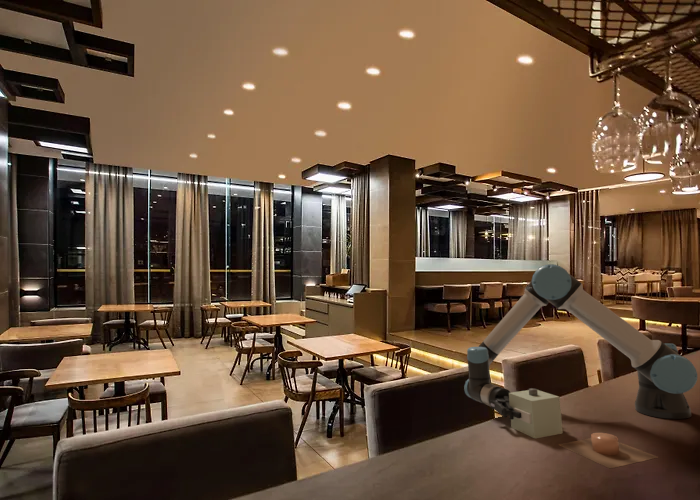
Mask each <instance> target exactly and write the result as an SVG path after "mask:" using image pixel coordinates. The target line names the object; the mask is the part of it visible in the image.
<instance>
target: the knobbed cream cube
mask: <svg viewBox="0 0 700 500" xmlns="http://www.w3.org/2000/svg"><path fill="white" fill-rule="evenodd" d="M509 403H510V406H512V408H513V410H514V408H518V409H520V410H523V411H525V412H528V413H530V414H531V420H532V423H531V424H529V423H527V422H524V421H522V420H520V419H518V418H515V417H514V419H510V425H511V426H510V429H514V430H516V431H518V432H521V433H522V434H524V435H527V436H528V437H530V438H533V439H540V438H544V437H545V438H546V437H550V436H555V435H560V434H561V435H562V434H563V433H564V432H563V422H562V409H561V400H560V396H558V395H555V394H552V393H549V392H545V391H542V390H539V389H537V388H532V387H531V388H528V389H527V390H521V391H512V392H511V393H509Z"/></svg>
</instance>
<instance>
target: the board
mask: <svg viewBox="0 0 700 500" xmlns="http://www.w3.org/2000/svg"><path fill="white" fill-rule="evenodd" d="M618 443H619V454H618V455H604V454H600V453H597V452H595V451H594V450H593V449H592V438H591V437H588V438H584V439H579V440H574V441H569V442H564V443H558V444H557V446H560V447H561V448H563V449H566V450H568V451H570V452H572V453H574V454H577V455H579V456H581V457H583V458H586V459H587V460H590V461H592V462H595V463H597V464H599V465H600V466H602V467H605V468H607V469H609V470H610V469H615V468H619V467H624V466H628V465H632V464H636V463H642V462H644V461H645V462H646V461H649V460H654V459H655V460H656V459H659V458H660V457H659V456H656V455H654V454H652V453H649V452H646V451H644V450H642V449H640V448H639V449H638V448H636V447H634V446H630V445H628V444H626V443H623V442H619V441H618Z"/></svg>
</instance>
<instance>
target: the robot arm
mask: <svg viewBox="0 0 700 500" xmlns="http://www.w3.org/2000/svg"><path fill="white" fill-rule="evenodd" d="M549 303H550V304H551V305H553V306H554V307H555V308H556V309H557V310H566V311H567V312H569V313H570V314H571V315H573V316H574V317H575V318H577V319H578V320H579V321H581V322H582V323H583V324H584V325H586V326H587V327H589V329H591V330H592V331H594V332H595V333H596V334H598V336H600V337H601V338H603V339H604V340H605V341H607V342H608V343H609V344H610V345H612V346H613V347H614V348H616V349H617V350H618V351H619V352H621V353H622V354H623V355H625V357H627V358H629V359H630V363H631V367H632V368H634V369H635V370H636V371H637V379H638V380H637V381H638V389H637V393H636V398H635V401H634V408H635V411H636V412H638V413H641V414H642V415H647V416H650V417H655V418H660V419H671V420H672V419H673V420H680V419H682V420H683V419H687V418H691V417H692V409H691V406H690V405H689V403H688V401H687V398H686V397H685V393H687V392H689V391H690V390H692V389H693V388H694V386H695V385H696V383H697V381H698V371H697V368H696V367H695V366H694V364H693V363H692V361H690V359H688V358H687V357H685V356H682V355H680V354H679V350H678V348H677V347H678V346H677V345H676V344H674V343H664V342H663V341H661V340H659V339H650V338H649V337H648V336H646V335H645V334H643V333H642V332H641V331H640V330H639V329H637V328H636V327H634V326H633V325H631V324H630V323H628V321H626V320H624V318H621V316H619V315H618V314H616V313H615V312H614V311H612V309H610V308H608V306H606V305H604V304H603V303H601V302H600V301H599V300H598V299H596V298H595V297H593V296H592V295H591V294H589V293H588V292H587V291H585V290H584V286H583V283H582V282H581V281H579V280H578V279H577V278H576V277H574V276H573V275H571V274H570V273H569V272H568V271H567V270H566V269H565V267H563V266H561V265H558V264H552V263H551V264H549V263H548V264H544V265H542V266H539V267H538V268H537V269H536V270H535V272H534V273H533V275H532V278H531V280H530V282H529V283H528V285H527V286H526V287H525V288H524V294H523V295H521V296H520V298H519V300H517V302H516V303H515V304H514V305H513V306H512V308H510V310H509V311H507V313H506V314H505V315H504V317H502V319H501V320H500V321H499V322H498V323H497V324H496V325H495V327H494V328H493V329H492V331H490V333H488V335H487V336H486V337H485V338H484V339H483V341H482V342H481V343H480V344H479V345H477V346H471V347H468V348H467V350H466V351H467V352H466V354H467V355H466V359H467V367H468V368H467V370H468V379H467V380H465V383H464V386H463V387H464V389H463V390H464V394H465V395H466V396H467V397H468V398H470V399H472V400H473V401H475V402H479V403H481V404H483V405H487V406H489V407H490V409H493V410H494V411H496V412H497V413H498V414H499V415H500V416H502V417H504V418H508V416H509V420H511V419H514V417H515V418H518V419H520V420H522V421H524V422H527V423H529V424H531V423H532V420H531V414H530V413H528V412H525V411H523V410H520V409H518V408H514V410H513V408H512V406H510V403H509V393H512V392H511V391H510V390H509V389H507V388H505V387H502V386H499V385H498V384H497V385H496V384H493V383H491V374H490V366H491V364H493V362H494V361H495V360H496V359H497V357H498V356H499V354H500V353H502V351H503V350H504V349H505V348H506V347H507V346H508V344H510V342H511V341H513V339H514V338H515V337H516V336H517V335H518V334H519V332H520V331H521V330H522V329H523V328H524V327H525V326H526V325H527V324H528V322H529V321H531V319H532V318H533V317H534V316H535V315H536V313H537V312H538V311H539V310H540V309H541V308H542V307H544V306H545V307H546V306H548V304H549Z"/></svg>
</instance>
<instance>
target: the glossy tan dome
mask: <svg viewBox="0 0 700 500" xmlns="http://www.w3.org/2000/svg"><path fill="white" fill-rule="evenodd" d="M590 435H591V437H590V438H592V449H593V450H594V451H595V452H597V453H600V454H604V455H618V454H619V443H618V442H619V438H618V436H616V435H614V434H611V433H605V432H593V433H591V434H590Z"/></svg>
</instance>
